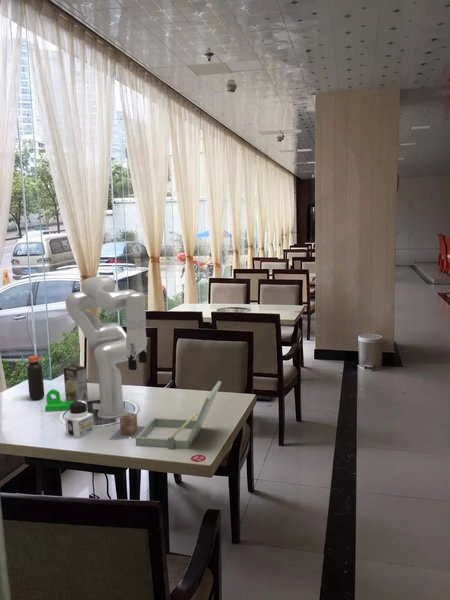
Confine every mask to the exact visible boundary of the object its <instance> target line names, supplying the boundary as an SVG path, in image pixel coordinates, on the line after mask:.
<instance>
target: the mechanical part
mask: <svg viewBox="0 0 450 600" xmlns="http://www.w3.org/2000/svg"><path fill="white" fill-rule="evenodd" d="M52 395H54V396H55V398H53V397H52ZM45 397H46V404H45V406H44V409H45V410H44V411H45V412H53V411H54V412H55V411H68V410H69V411H70V404H71V403H72V402H74V401H66V400H65V401H64V400H63V401H62V400H61V394H60V391H59V390H57V389H50V390H48V392H47V393H46V395H45Z"/></svg>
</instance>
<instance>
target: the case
mask: <svg viewBox="0 0 450 600" xmlns="http://www.w3.org/2000/svg"><path fill="white" fill-rule="evenodd" d="M221 385H222V381H220V380H218V381H217V382H216V384H215V385H214V386H213V388H212V389H211V391H210V392H209V393H208V395H207V397H206V398H205V400H204V402H203V405H202V407H201V410H200V411H199V413H198V411H196V412H195V413H193V415H192V416H191V417H189V418H188V419H186V418H185V419H183V418H166V417H165V418H162V417H153V418H152V419H151V420H150V421H149V422H148V424H146V425H145V426H144V427H145V428H144V429H143V430H142V431H141V432H140V434H139V435H138V436H137V437H136V438H134V439H135V446H137V447H138V446H139V447H155V448H159V447H160V448H168V450H174V449H189V448H190V447H191V445H192V444H193V442H194V441H195V439H196V438H197V436H198V434H199V433H200V432H201V430H202V429H203V424H204V422H205V420H206V418H207V415H208V413H209V411H210V409H211V407H212V404H213V402H214V400H215V398H216V395H217V394H218V391H219V389H220V387H221ZM197 415H198V416H197ZM196 416H197V418H196V419H194V418H195V417H196ZM155 428H171V429H172V428H173V429H174V428H175V429H176V428H177V430H176V431H175V432H174V433H173V434H172V435H171V436H169V437H168V438H162V437H161V438H160V437H158V438H157V437H148V436H149V435H150V434H151V433H152V431H153V430H154V429H155ZM183 429H192V430H191V431H190V433H189V435H188V436H187V437H186V439H178V438H177V439H176V438H175V437H176V436H177V435H178V434H179V432H181V431H182V430H183Z"/></svg>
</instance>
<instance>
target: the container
mask: <svg viewBox="0 0 450 600" xmlns="http://www.w3.org/2000/svg"><path fill="white" fill-rule="evenodd" d="M64 420H65V431H66V432H65V434H66V436H69V435H70V437H72V436H74V438H76V437H77V439H82V438H84V437H86V436H89V435H91V434H92V433H94V432H95V425H94V423H95V422H94V414H93V413H90V412H88V403H87V402H86V401H74V402H72V403H71V404H70V409H69V414H68V415H66V416H65V417H64Z"/></svg>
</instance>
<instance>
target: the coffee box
mask: <svg viewBox="0 0 450 600" xmlns="http://www.w3.org/2000/svg"><path fill="white" fill-rule="evenodd" d="M87 378H88V377H87V367H85V366H81V365H77V364H71V365H68V366H66V367H63V380H64V381H63V382H64V392H65V395H64V396H65V401H85V402H86V401H89V394H88V393H89V392H88V391H89V389H88V379H87Z"/></svg>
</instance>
